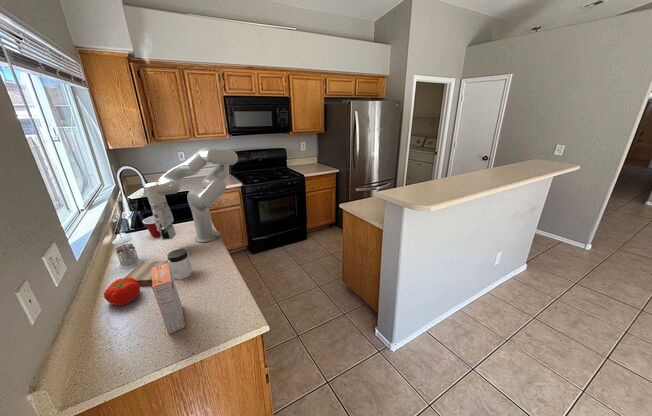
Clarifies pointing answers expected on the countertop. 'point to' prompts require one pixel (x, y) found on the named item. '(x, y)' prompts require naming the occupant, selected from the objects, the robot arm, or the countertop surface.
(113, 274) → the countertop surface
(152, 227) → the plastic cup
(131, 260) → the french press
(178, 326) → the cracker box
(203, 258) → the countertop surface
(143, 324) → the countertop surface
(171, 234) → the sage block
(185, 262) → the jar
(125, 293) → the tomato
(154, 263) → the walnut base
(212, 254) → the countertop surface
